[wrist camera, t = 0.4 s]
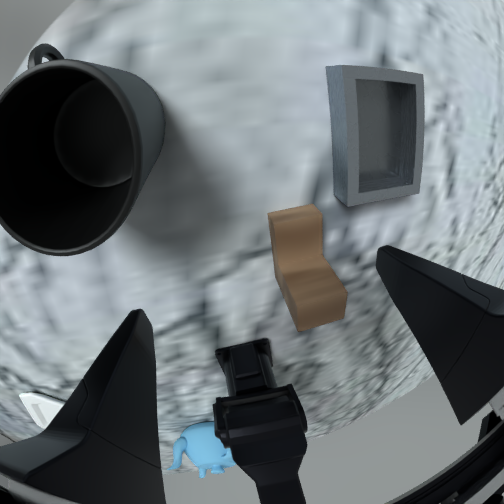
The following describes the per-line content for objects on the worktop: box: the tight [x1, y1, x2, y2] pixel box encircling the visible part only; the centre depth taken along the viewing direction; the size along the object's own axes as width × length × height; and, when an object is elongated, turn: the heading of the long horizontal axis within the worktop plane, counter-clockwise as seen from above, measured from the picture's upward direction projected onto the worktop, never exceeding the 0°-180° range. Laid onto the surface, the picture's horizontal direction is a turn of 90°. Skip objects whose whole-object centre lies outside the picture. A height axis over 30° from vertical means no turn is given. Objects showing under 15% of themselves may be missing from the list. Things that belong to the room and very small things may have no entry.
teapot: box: [167, 422, 236, 478], centre depth 42 cm, size 15×15×10 cm
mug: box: [0, 44, 165, 256], centre depth 12 cm, size 9×12×9 cm
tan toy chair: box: [268, 204, 348, 332], centre depth 22 cm, size 7×4×7 cm, turn 8°
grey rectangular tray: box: [326, 65, 424, 207], centre depth 19 cm, size 11×8×2 cm
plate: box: [19, 392, 66, 429], centre depth 39 cm, size 25×25×2 cm
